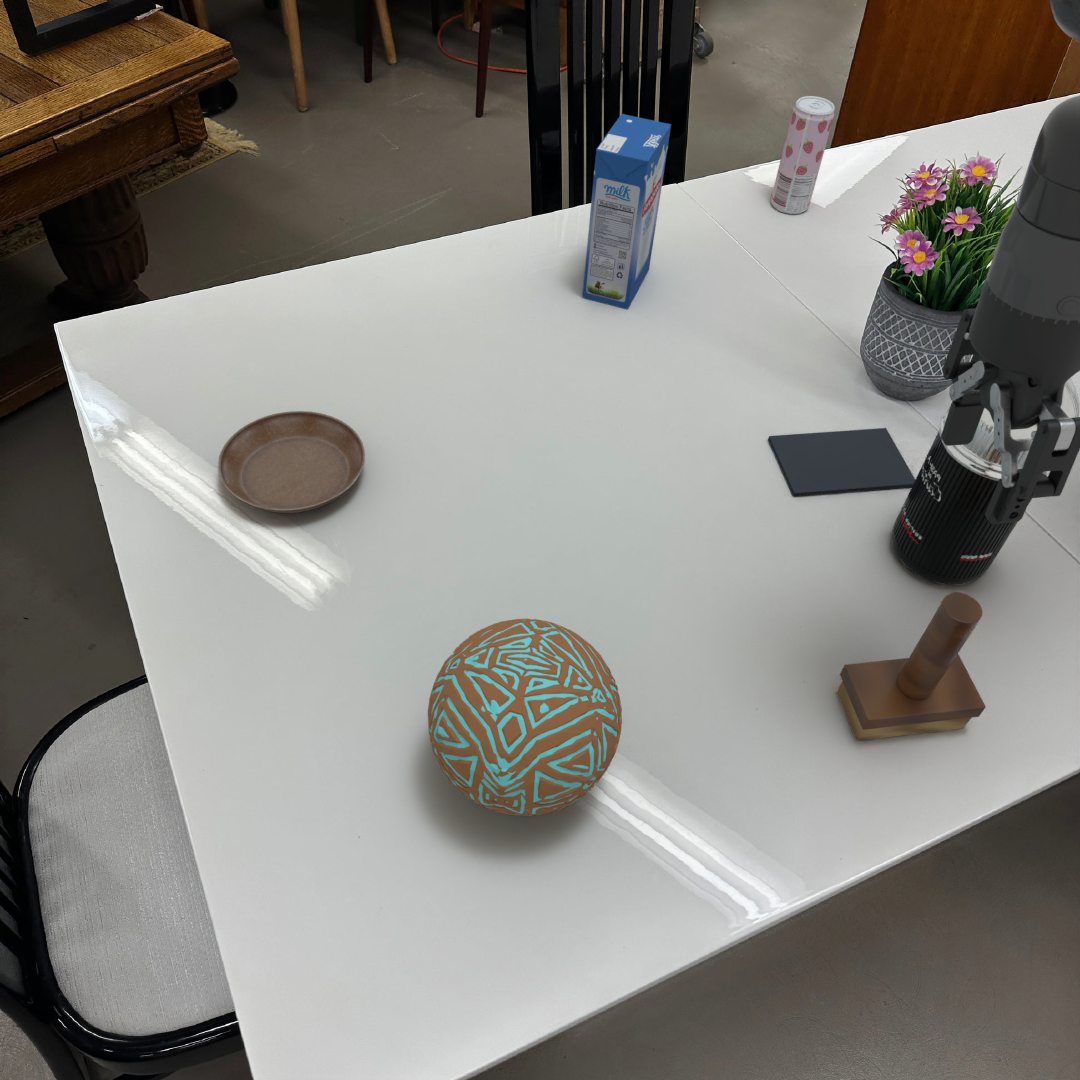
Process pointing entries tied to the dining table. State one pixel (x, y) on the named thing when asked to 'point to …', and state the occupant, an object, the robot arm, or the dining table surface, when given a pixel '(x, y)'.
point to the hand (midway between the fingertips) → (976, 479)
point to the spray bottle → (959, 504)
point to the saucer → (291, 461)
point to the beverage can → (802, 154)
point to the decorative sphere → (524, 717)
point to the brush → (917, 681)
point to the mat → (841, 462)
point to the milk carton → (624, 209)
